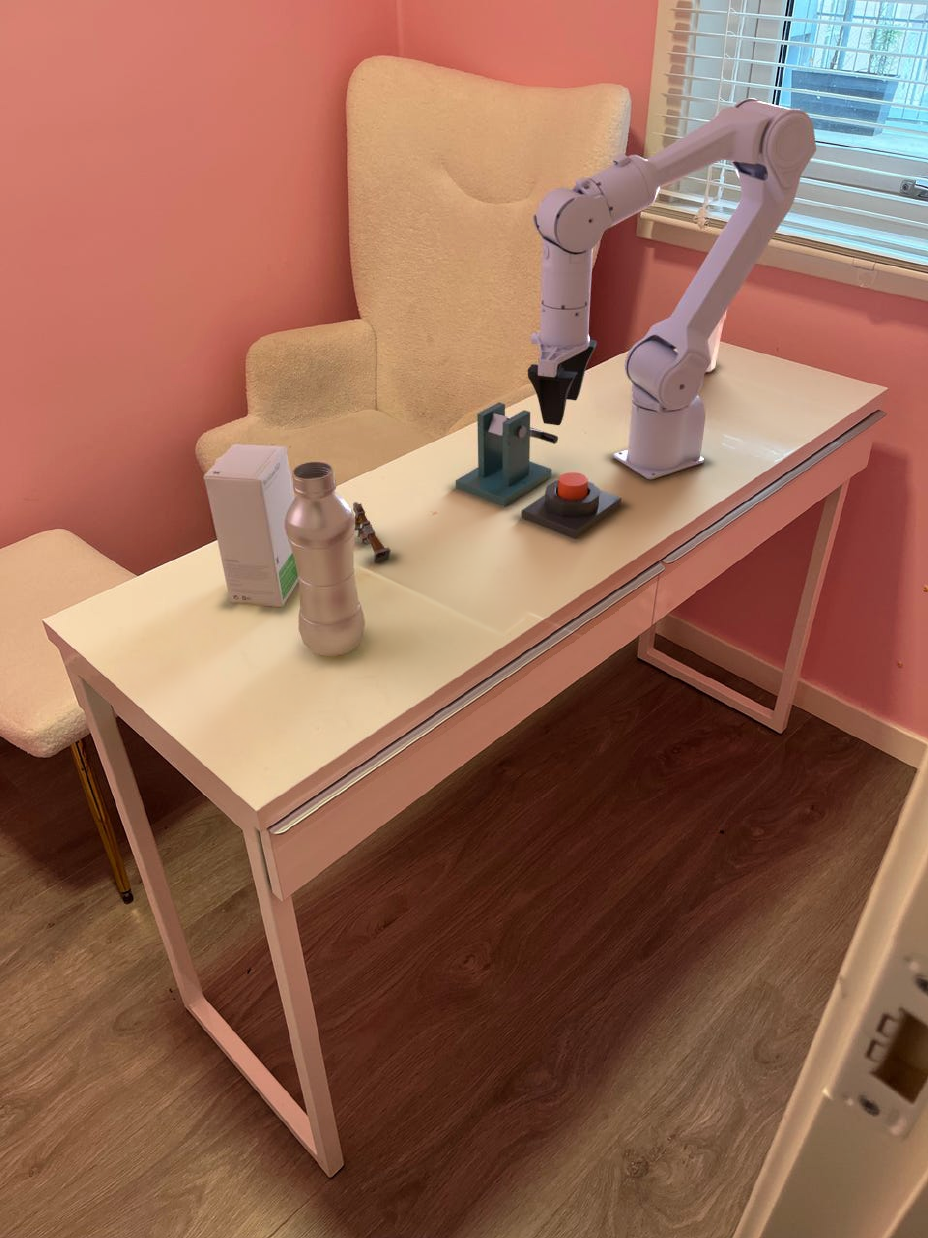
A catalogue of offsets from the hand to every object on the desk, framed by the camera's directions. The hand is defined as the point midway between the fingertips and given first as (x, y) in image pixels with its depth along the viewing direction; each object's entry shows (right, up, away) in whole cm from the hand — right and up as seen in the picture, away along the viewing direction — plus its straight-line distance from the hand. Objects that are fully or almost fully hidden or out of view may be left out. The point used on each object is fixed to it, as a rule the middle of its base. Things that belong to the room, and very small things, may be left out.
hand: (560, 410), depth 121 cm
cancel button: (+1, -11, -2) cm, 11 cm away
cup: (+26, +15, +36) cm, 46 cm away
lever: (-5, -3, +5) cm, 7 cm away
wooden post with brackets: (-23, -18, -6) cm, 30 cm away
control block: (+1, -13, -1) cm, 13 cm away
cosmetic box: (-34, -22, -12) cm, 42 cm away
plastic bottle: (-25, -29, -21) cm, 44 cm away
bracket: (-7, -8, +6) cm, 12 cm away
